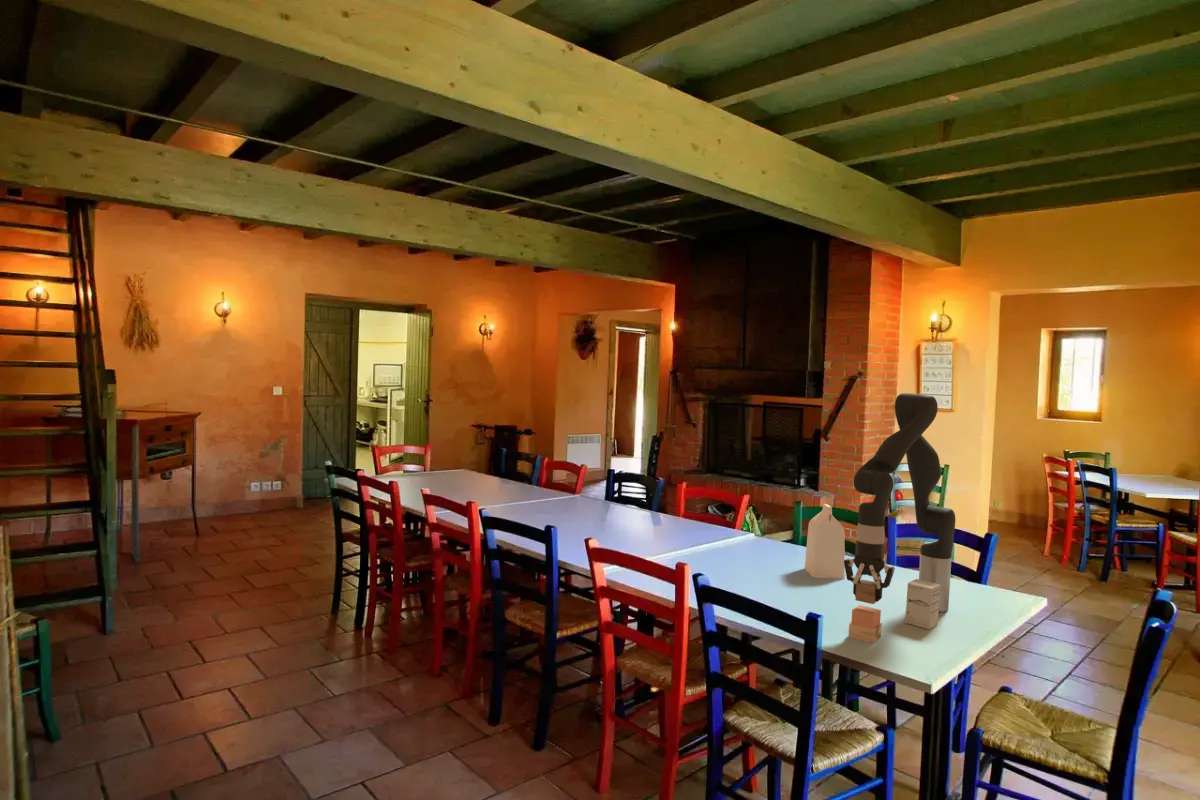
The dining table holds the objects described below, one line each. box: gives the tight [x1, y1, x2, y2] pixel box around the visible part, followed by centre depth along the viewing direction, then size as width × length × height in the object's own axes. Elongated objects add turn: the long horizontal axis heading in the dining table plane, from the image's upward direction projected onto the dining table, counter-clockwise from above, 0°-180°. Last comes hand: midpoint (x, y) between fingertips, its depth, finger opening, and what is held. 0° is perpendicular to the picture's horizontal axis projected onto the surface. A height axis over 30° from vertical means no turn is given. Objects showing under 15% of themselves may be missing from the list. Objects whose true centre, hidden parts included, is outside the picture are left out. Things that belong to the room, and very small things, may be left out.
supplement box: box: [904, 578, 941, 630], centre depth 212 cm, size 7×7×13 cm
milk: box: [804, 503, 846, 580], centre depth 264 cm, size 12×12×26 cm
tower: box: [850, 604, 882, 629], centre depth 199 cm, size 6×6×4 cm
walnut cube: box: [855, 578, 877, 605], centre depth 199 cm, size 5×5×5 cm
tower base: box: [848, 622, 882, 644], centre depth 200 cm, size 7×7×4 cm
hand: (867, 598), depth 199 cm, fingers closed on walnut cube, 5 cm apart
